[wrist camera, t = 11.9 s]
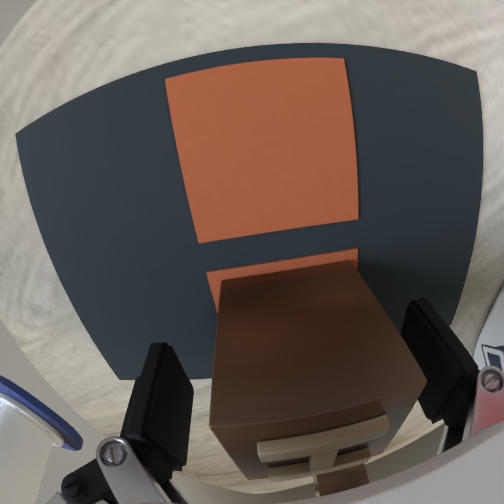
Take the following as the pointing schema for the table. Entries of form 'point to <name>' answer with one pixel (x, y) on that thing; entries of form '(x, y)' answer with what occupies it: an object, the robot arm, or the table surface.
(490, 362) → the planter
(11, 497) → the robot arm
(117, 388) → the table surface
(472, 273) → the table surface
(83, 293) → the word mat
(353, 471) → the block
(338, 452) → the block
